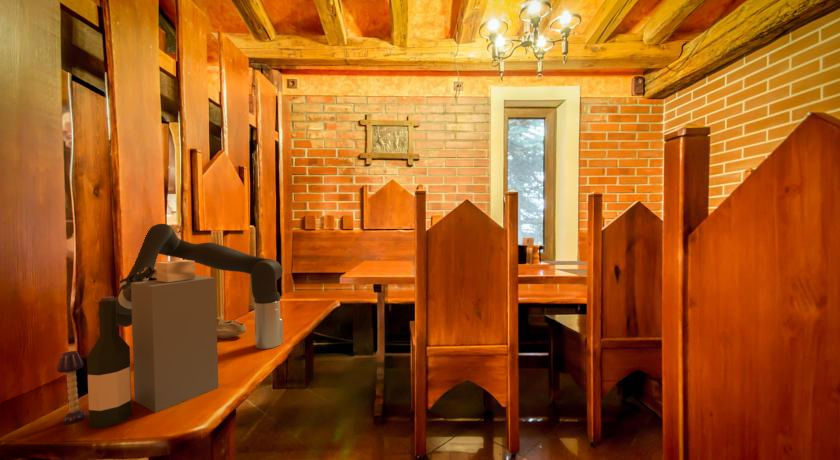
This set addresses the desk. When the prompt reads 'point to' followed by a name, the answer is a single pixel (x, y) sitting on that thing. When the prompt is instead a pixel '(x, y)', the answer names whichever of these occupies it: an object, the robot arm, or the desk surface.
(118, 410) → the wine bottle
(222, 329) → the oil lamp
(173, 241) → the robot arm
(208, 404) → the desk surface
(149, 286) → the stand
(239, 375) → the desk surface
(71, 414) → the toy lamp
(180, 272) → the mallet
